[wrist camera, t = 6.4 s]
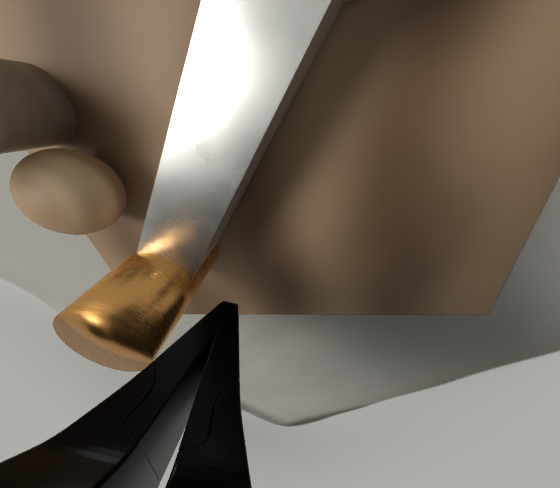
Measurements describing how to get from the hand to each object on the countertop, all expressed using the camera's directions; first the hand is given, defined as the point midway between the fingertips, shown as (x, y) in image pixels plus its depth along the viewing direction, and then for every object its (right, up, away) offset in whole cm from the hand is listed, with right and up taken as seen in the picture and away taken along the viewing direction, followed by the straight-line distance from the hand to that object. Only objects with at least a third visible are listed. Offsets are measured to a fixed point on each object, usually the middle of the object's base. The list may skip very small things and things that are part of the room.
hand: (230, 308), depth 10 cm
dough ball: (-7, +5, 0) cm, 8 cm away
